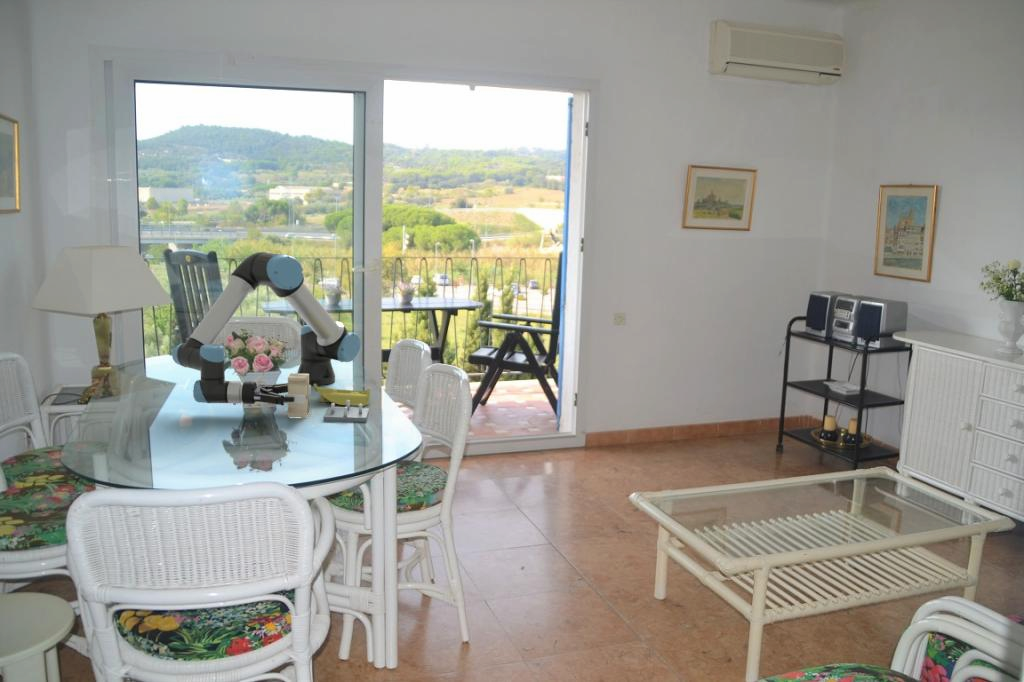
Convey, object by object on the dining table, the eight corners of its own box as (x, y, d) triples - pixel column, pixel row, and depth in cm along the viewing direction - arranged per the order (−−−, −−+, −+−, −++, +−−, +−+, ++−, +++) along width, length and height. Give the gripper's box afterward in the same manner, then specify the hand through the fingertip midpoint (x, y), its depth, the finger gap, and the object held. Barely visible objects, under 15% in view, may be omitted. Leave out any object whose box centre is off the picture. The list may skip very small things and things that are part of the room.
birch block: (290, 413, 278) (290, 373, 276) (308, 413, 279) (309, 373, 276) (287, 418, 272) (287, 377, 270) (306, 418, 273) (306, 377, 270)
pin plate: (327, 411, 282) (327, 399, 282) (368, 412, 284) (368, 399, 283) (323, 421, 271) (323, 408, 270) (366, 422, 272) (366, 409, 271)
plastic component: (367, 391, 303) (370, 386, 294) (366, 411, 301) (369, 406, 292) (313, 388, 298) (314, 382, 289) (311, 408, 296) (312, 402, 287)
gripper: (251, 394, 285) (313, 395, 287) (234, 413, 261) (302, 414, 263) (251, 373, 284) (313, 374, 286) (234, 390, 259) (302, 392, 262)
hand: (308, 394), depth 274 cm, fingers open, 13 cm apart
